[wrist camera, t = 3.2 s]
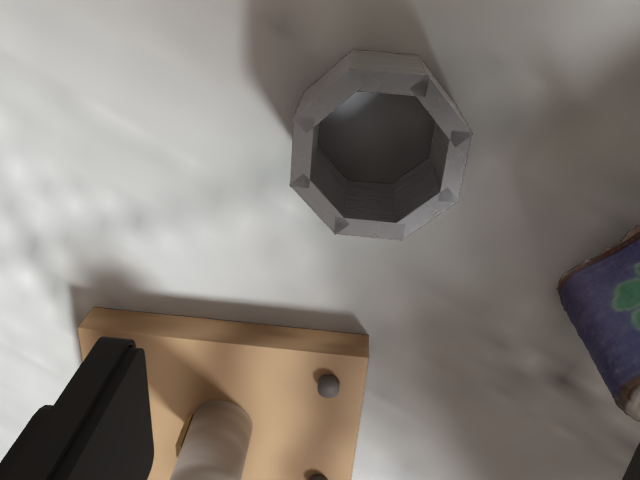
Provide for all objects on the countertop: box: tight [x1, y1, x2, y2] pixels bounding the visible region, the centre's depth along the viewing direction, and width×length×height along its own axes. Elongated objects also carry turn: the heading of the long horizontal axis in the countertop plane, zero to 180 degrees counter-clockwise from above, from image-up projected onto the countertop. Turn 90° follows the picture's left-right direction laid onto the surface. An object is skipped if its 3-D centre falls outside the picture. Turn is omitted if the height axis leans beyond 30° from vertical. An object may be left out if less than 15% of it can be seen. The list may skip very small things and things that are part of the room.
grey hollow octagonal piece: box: [289, 49, 473, 241], centre depth 25 cm, size 7×7×4 cm
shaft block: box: [78, 307, 369, 480], centre depth 30 cm, size 16×12×11 cm
